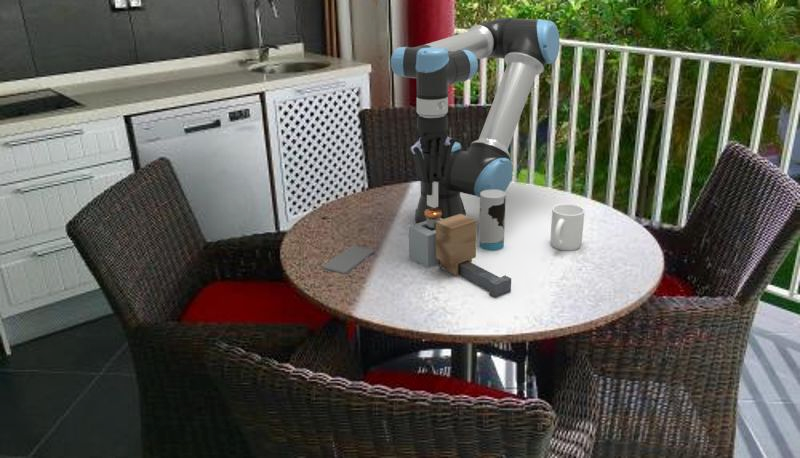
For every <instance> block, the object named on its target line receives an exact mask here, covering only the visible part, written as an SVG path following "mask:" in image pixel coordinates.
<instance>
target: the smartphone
mask: <svg viewBox="0 0 800 458" xmlns="http://www.w3.org/2000/svg"><path fill="white" fill-rule="evenodd" d="M375 252H376V251H375V250H374V249H373V248H368V247H363V246H359V245H354V244H352V245H350V246H349V247H348V248H346V249H345V250H344V251H342V252H340V253H339V254H337V255H336V256H335V257H334V258H332V259H331V260H328V262H325V264H324V265H322V267H321V268H322V270H325V271H329V272H334V273H337V274H341V275H346V274H348V273H349V272H351V271H352V270H353V269H355V268H356V267H357V266H359V265H361V263H363V262H364V261H366V260H367V259H368V258H369V257H371V256H372V255H374V254H375Z"/></svg>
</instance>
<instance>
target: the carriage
mask: <svg viewBox="0 0 800 458" xmlns="http://www.w3.org/2000/svg"><path fill="white" fill-rule="evenodd" d="M477 223H478V222H477V220H476V219H474V218H471V217H469V216H467V215H466V216H465V215H463V214H458V215H455V216H452V217H448V218H445V219H442V220H439V221H436V258H437V259H439V260H440V265H439V266H440V268H441V269H443V270H445V271H447V272H449V273H451V274H452V275H454V276H459V275H458V264H459V263H462V262H465V261H469V262H471V263H473V262H472V261H473V259H475V258H477V227H478V226H477V225H478V224H477Z"/></svg>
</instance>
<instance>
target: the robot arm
mask: <svg viewBox="0 0 800 458" xmlns="http://www.w3.org/2000/svg"><path fill="white" fill-rule="evenodd" d="M560 41H561V40H560V32H559V30H558V27H557V25H556V24H555V23H554V22H553V21H552V20H545V19H541V18H537V19H531V18H517V17H516V18H512V17H504V18H503V17H502V18H496V19H493V20H488V21H485V22H482V23H479V24H476V25H472V26H471V27H469V29H468V30H467V31H465V32H462V33H458V34H455V35H451V36H449V37H445V38H443V39H439V40H436V41H432V42H430V43H425V44H422V45H418V46H415V47H414V46H413V47H409V46H399V47H397V48H395V49H394V51H393V52H392V54H391V57H390V63H391V65H390V67H391V70H392V72H393V73H394V74H395V75H396V76H398V77H403V78H405V79H407V78H410V79H416V113H417V114H418V115H417V116H416V130H417V133H418V135H417V138H416V142H415V143H414V145H413V144H412V145H410V146H409V147H408V149H409V151H410V153H411V154H412V159H413V163H414V167H415V171H416V176H417V180H418V181H420V196H419V200H418V203H417V208H416V209H415V212H414V221H415V224H417V223H421V222H424V221H427V217H425V210H426V209H430V208H437V209H440V210H441V211H442V216H441V217H440V218H442V219H445V218H448V217H452V216H455V215H458V214H463V215H465V216H467V211H466V209H465V205H464V202H463V199H462V196H461V193H462V194H466V195H469V196H473V197H474V196H475V197H477V198H479V199H480V193H481V192H482V191H484V190H489V189H496V190H501V191H504V192H505V193H506V191H507V190H508V188H509V186H510V184H511V182H512V178H513V172H514V166H513V163H512V161H510V160H511V155H510V152H509V147H510V145H511V143H512V139H513V137H514V134H515V132H516V129H517V126H518V123H519V121H520V118H521V115H522V112H523V110H524V108H525V105H526V102H527V99H528V96H529V95H530V92H531V89H532V87H533V84H534V80H535V78H536V76H537V75H541V74H542V73H543V72H544V70H545V67H546V65H547V64H549V65H550V64H553V63H554V62H556V61H557V58H558V57H559V51H560V45H561V44H560ZM486 58H493V59H494V58H495V59H503V60H504V62H505V64H506V66H505V67H506V68H505V71H504V73H503V75H502V78H501V80H500V83H499V86H498V89H497V91H496V93H495V96H494V99H493V101H492V103H491V106H490V109H489V112H488V113H487V116H486V119H485V122H484V125H483V128H482V131H481V132H480V135H479V138H478V139H476V140H474V141H472V142H471V143H470V146H469V148H468V150H467V151H466V150H462V145H461V143H460V142H458V141H456V139H455V138H451V137H449V135H448V132H447V131H448V128H449V117H448V115H447V113H449V86H451V85H455V84H460V83H464V82H467V81H468V80H471V79H472V78H473V77H474V76H476V74H477V72H478V67H479V64H478V63H479V62H478V60H482V59H486Z"/></svg>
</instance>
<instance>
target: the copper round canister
mask: <svg viewBox="0 0 800 458" xmlns="http://www.w3.org/2000/svg"><path fill="white" fill-rule="evenodd" d="M441 216H442V211H441V210H440V209H437V208H430V209H426V210H425V217H427V229H429V230H431V231H433V230H436V221H439V220H440V217H441Z"/></svg>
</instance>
